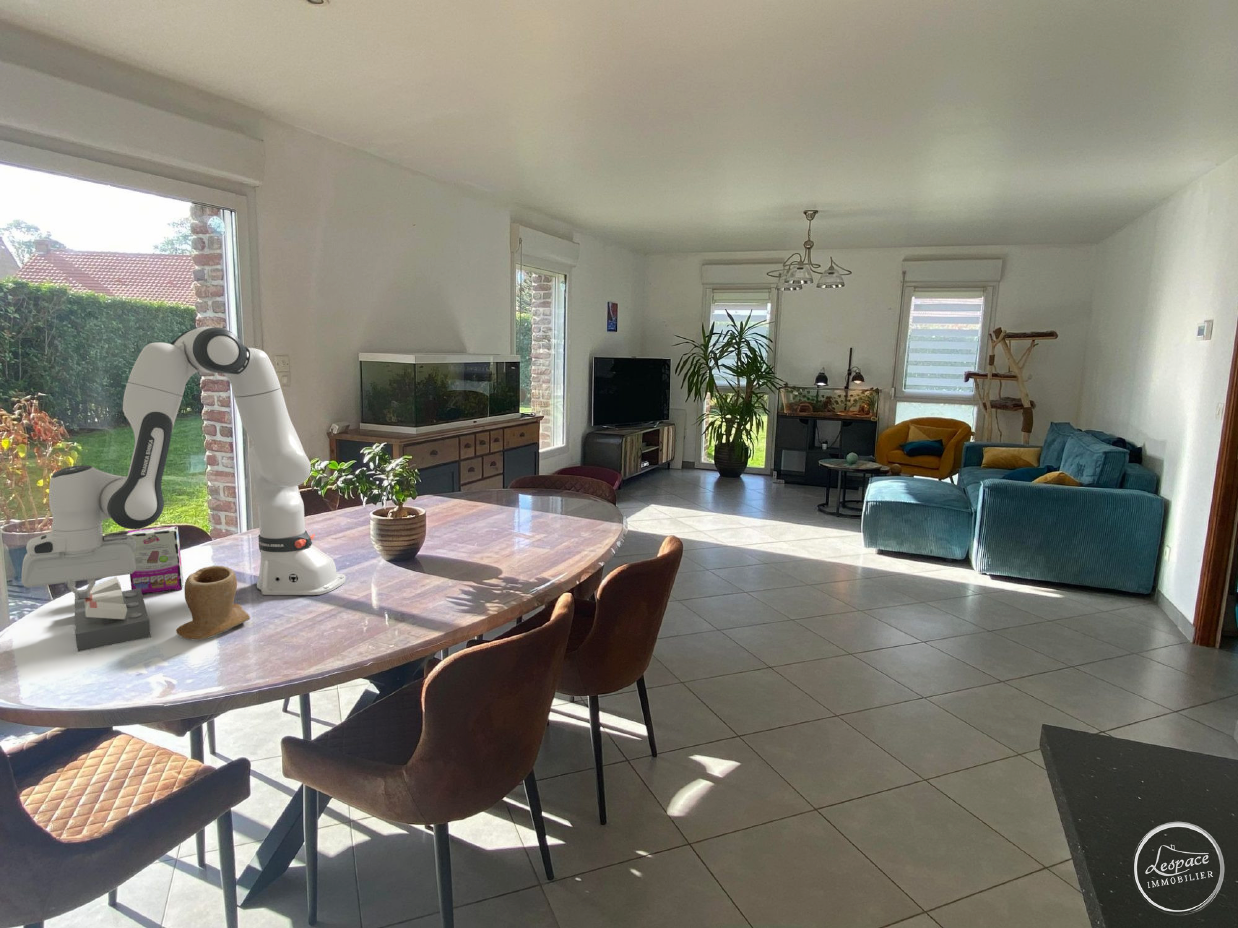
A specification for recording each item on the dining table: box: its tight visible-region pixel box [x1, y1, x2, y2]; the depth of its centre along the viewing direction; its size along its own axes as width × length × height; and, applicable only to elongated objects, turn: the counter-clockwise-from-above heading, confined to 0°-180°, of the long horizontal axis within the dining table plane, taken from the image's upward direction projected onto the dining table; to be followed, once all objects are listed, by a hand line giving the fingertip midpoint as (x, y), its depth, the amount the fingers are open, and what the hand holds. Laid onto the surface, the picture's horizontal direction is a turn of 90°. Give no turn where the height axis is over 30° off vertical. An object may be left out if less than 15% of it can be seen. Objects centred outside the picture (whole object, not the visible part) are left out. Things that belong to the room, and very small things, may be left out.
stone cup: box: [175, 565, 251, 641], centre depth 158 cm, size 15×12×15 cm
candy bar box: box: [126, 525, 185, 596], centre depth 181 cm, size 11×5×16 cm, turn 117°
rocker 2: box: [84, 588, 124, 610], centre depth 159 cm, size 7×4×2 cm, turn 128°
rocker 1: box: [90, 576, 122, 595], centre depth 164 cm, size 7×4×2 cm, turn 127°
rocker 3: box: [85, 601, 127, 619], centre depth 153 cm, size 7×4×2 cm, turn 128°
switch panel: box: [74, 588, 152, 652], centre depth 160 cm, size 13×24×5 cm, turn 38°
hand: (82, 598), depth 156 cm, fingers closed
